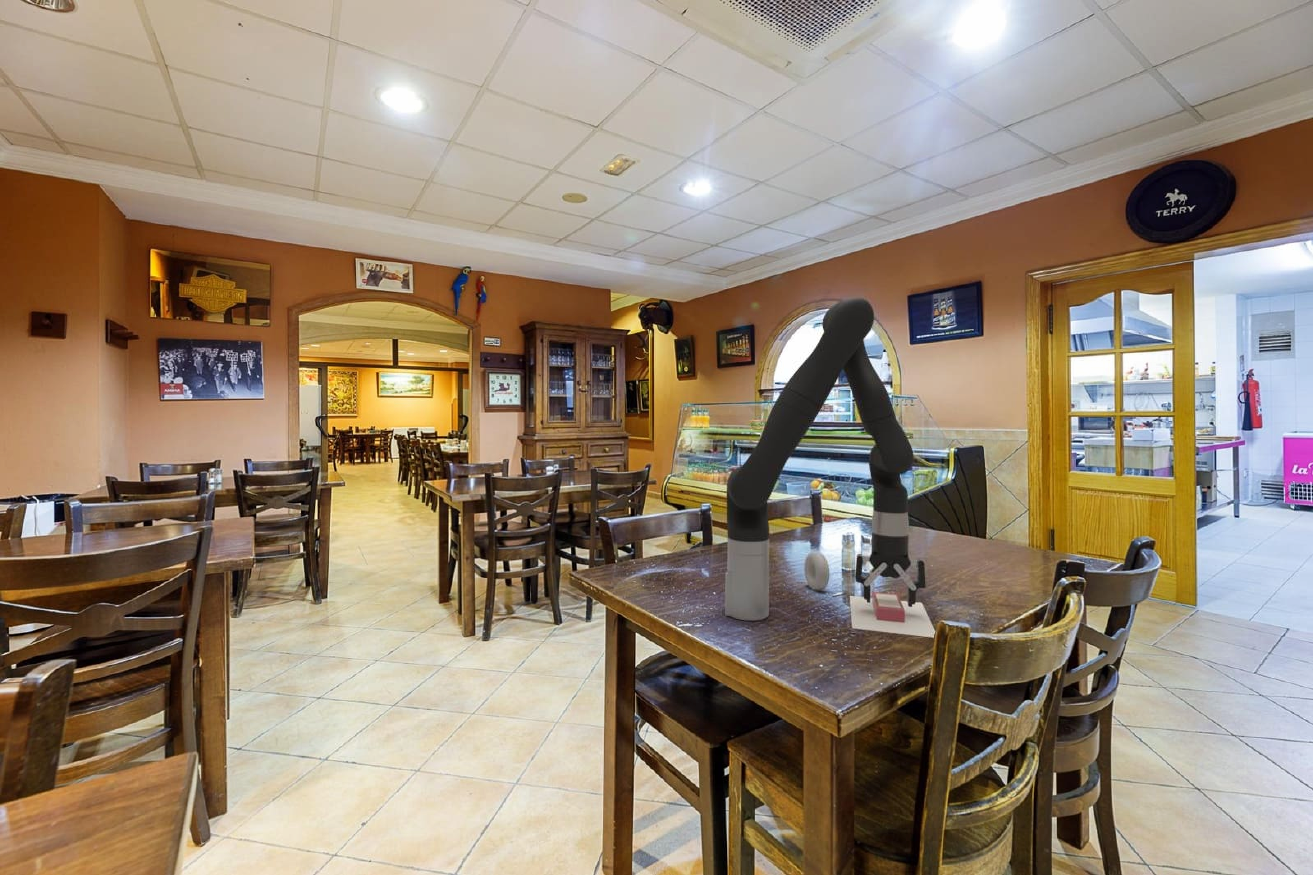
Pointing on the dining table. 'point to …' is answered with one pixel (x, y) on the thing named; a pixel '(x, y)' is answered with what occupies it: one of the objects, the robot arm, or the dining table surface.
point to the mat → (913, 625)
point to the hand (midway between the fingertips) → (889, 603)
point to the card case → (888, 607)
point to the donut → (816, 571)
